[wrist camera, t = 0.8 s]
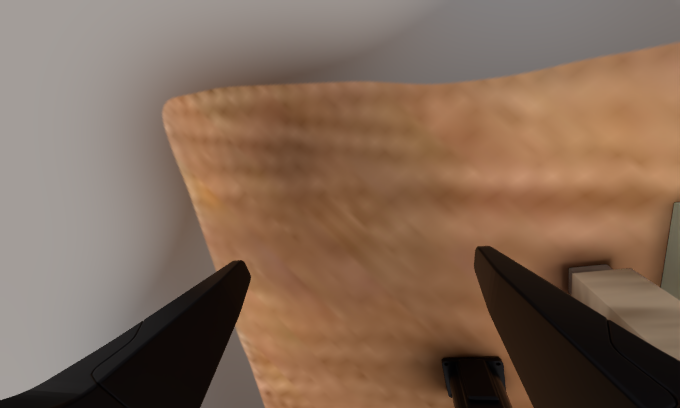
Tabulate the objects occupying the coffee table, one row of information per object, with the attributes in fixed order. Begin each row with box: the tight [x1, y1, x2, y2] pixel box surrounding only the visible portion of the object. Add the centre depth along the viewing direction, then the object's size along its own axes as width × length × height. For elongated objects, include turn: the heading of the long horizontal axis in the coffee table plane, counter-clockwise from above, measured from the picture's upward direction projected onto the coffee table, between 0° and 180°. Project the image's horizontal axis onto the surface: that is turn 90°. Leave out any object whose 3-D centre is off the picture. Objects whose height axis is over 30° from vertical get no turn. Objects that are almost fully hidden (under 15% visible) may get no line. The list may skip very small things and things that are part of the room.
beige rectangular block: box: [569, 264, 680, 361], centre depth 18 cm, size 4×4×10 cm
